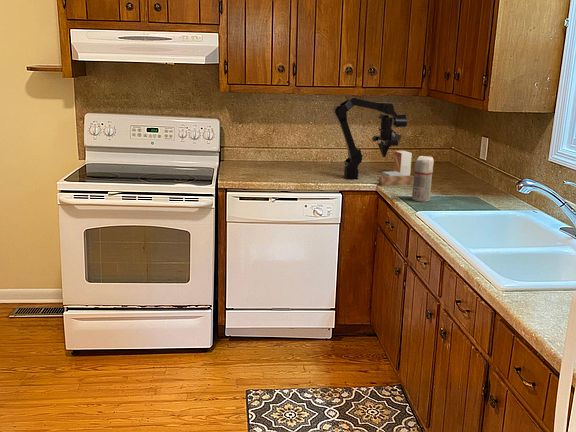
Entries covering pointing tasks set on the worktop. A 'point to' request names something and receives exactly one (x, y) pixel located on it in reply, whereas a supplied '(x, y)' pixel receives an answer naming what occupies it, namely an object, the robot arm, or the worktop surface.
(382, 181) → the board
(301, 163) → the worktop surface
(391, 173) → the block
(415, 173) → the spray can
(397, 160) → the small box
